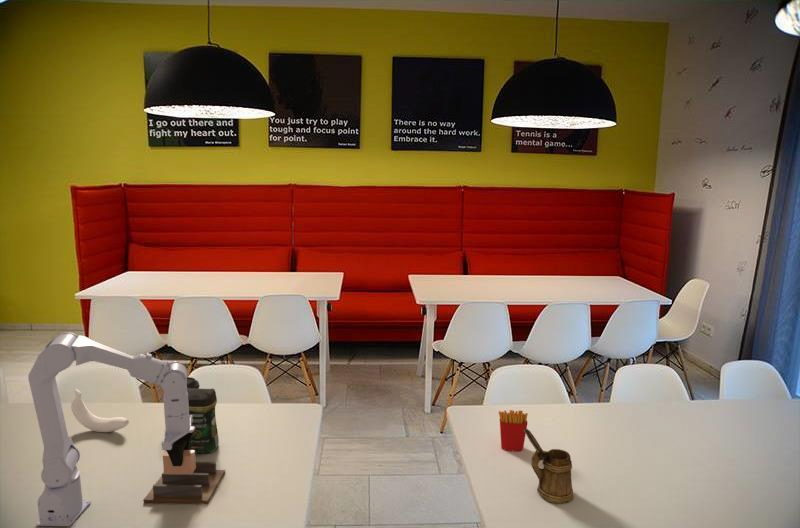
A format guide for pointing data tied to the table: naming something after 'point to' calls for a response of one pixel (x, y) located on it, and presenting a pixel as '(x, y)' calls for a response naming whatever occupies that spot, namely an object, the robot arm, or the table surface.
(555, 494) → the wooden mug
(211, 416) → the coffee jar
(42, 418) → the robot arm
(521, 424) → the french fries
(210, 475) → the slot rack
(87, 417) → the banana
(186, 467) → the salmon rectangular prism
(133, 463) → the table surface
